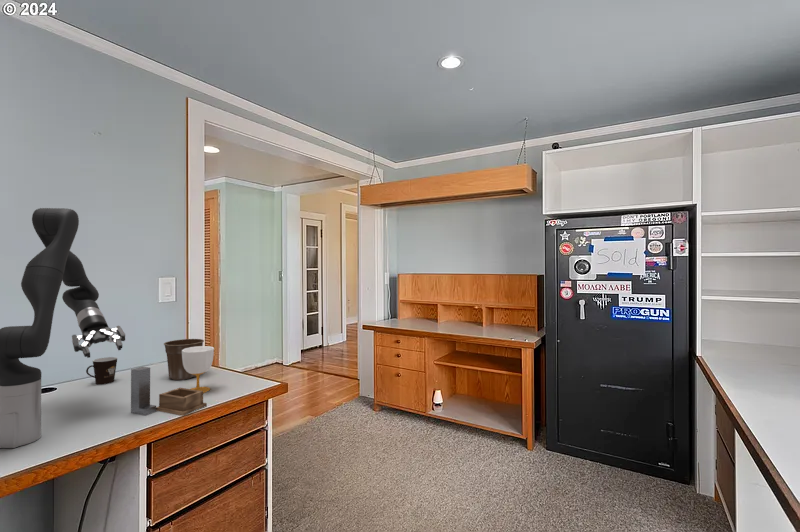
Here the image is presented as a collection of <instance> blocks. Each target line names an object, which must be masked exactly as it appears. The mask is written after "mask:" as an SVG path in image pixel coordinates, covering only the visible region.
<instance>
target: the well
mask: <svg viewBox="0 0 800 532" xmlns="http://www.w3.org/2000/svg"><path fill="white" fill-rule="evenodd" d="M158 401H159V402H158V406H156V412H162V413H167V414H172V415H178V416H185V415H188V414H190V413H192V411H193V412H194V410H195V411H197V410H196V409H198V410H200V409H203V408H205V407H207V405H208V404H207V402H204V393H203V391H199V390H192V389H191V388H183V387H178V388H174V389H172V390H168V391H165V392H162V393H159V394H158ZM204 406H205V407H204ZM202 407H203V408H202ZM199 408H200V409H199Z"/></svg>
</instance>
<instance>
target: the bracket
mask: <svg viewBox="0 0 800 532" xmlns="http://www.w3.org/2000/svg"><path fill="white" fill-rule="evenodd" d="M156 407H157V405H154V404H151V367H149V366H148V367H147V366H138V367H134V368H131V369H130V413H131V414H136V415H141V416H147V415H151V414H152V413H156V412H157V411H156Z"/></svg>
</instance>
